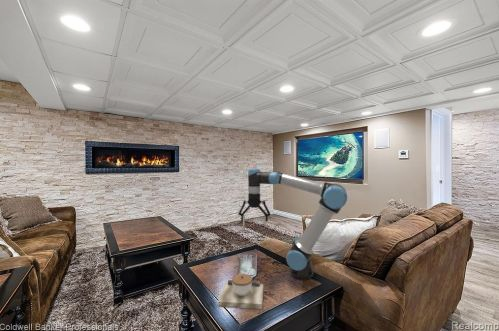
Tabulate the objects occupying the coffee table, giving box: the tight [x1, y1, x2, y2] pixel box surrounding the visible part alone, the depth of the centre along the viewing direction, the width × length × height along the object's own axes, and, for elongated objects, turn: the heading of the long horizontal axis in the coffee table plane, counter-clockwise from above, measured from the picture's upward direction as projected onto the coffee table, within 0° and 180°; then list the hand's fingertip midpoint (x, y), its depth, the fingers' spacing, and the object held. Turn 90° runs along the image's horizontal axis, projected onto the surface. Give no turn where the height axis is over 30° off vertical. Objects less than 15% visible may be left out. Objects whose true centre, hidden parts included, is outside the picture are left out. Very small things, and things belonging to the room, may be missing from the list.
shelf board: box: [217, 279, 264, 310], centre depth 120 cm, size 22×18×4 cm
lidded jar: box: [231, 273, 253, 296], centre depth 120 cm, size 11×11×9 cm
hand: (254, 226), depth 142 cm, fingers open, 13 cm apart
